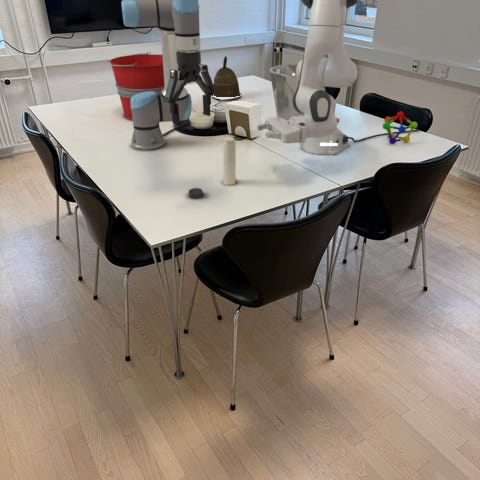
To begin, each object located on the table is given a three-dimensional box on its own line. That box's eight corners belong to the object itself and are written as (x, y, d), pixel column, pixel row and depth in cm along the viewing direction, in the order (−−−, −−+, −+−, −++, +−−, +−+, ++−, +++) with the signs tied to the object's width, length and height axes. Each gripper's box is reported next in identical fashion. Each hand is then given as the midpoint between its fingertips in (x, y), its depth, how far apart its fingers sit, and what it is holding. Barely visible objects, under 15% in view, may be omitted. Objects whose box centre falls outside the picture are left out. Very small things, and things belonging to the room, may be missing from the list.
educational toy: (377, 146, 209) (379, 114, 202) (384, 138, 219) (386, 107, 211) (411, 149, 202) (415, 116, 195) (417, 141, 212) (420, 109, 204)
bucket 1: (123, 105, 263) (116, 51, 247) (182, 106, 262) (179, 52, 247) (107, 123, 234) (97, 63, 218) (173, 124, 233) (168, 64, 217)
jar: (235, 185, 170) (235, 141, 161) (223, 185, 170) (222, 141, 160) (235, 179, 174) (235, 136, 165) (223, 180, 174) (222, 136, 164)
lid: (202, 192, 164) (202, 187, 163) (203, 198, 160) (203, 193, 159) (188, 192, 164) (188, 188, 163) (188, 199, 160) (188, 194, 159)
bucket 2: (296, 138, 215) (301, 78, 201) (255, 124, 234) (256, 68, 219) (335, 125, 232) (342, 70, 217) (294, 113, 251) (297, 61, 236)
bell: (227, 105, 294) (202, 96, 282) (238, 66, 289) (213, 55, 277) (243, 108, 280) (217, 98, 268) (255, 66, 275) (229, 55, 263)
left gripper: (163, 57, 126) (169, 130, 137) (225, 47, 142) (226, 113, 153) (147, 54, 130) (154, 124, 142) (209, 44, 146) (211, 109, 157)
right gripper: (286, 112, 176) (253, 115, 172) (308, 128, 159) (272, 131, 155) (285, 128, 179) (252, 131, 175) (306, 144, 162) (271, 148, 159)
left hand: (191, 119), depth 147 cm, fingers open, 13 cm apart
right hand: (262, 131), depth 165 cm, fingers open, 8 cm apart
